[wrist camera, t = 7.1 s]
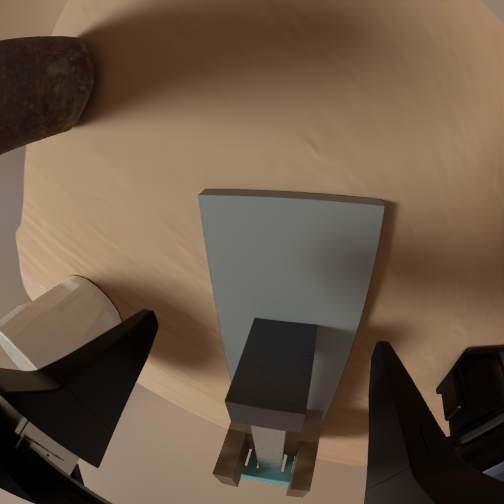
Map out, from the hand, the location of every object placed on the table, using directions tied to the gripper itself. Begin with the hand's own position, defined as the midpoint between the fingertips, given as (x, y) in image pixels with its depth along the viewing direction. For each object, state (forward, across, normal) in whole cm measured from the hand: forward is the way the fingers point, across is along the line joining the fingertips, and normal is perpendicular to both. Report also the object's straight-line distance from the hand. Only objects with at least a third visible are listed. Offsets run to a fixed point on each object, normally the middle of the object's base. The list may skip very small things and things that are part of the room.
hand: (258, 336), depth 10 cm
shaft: (+8, 0, +7) cm, 11 cm away
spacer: (+4, 0, +27) cm, 27 cm away
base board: (+8, 0, +14) cm, 16 cm away
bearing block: (+8, 0, +22) cm, 23 cm away
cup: (+8, +21, +10) cm, 24 cm away
